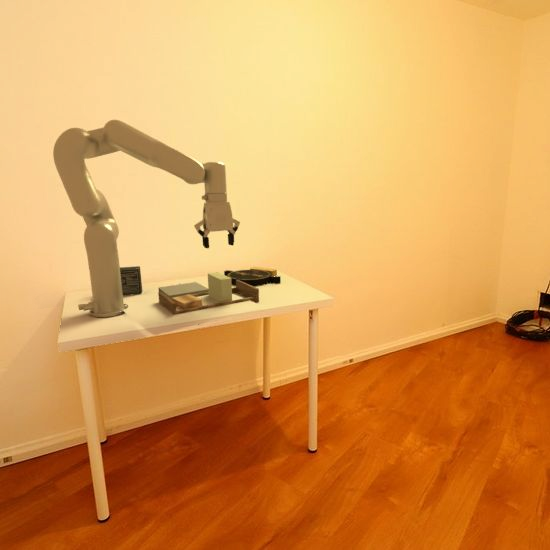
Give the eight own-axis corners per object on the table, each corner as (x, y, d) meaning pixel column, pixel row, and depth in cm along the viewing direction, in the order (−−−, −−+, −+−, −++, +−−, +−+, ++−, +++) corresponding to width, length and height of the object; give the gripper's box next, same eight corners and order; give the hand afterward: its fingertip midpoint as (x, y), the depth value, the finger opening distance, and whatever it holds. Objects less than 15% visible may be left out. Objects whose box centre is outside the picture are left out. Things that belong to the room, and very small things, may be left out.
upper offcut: (184, 309, 131) (183, 303, 131) (172, 303, 138) (171, 297, 137) (202, 304, 136) (201, 299, 135) (189, 299, 142) (189, 294, 142)
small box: (142, 290, 161) (140, 265, 158) (141, 294, 154) (139, 268, 152) (115, 291, 158) (113, 267, 156) (113, 296, 152) (110, 270, 150)
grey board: (169, 302, 144) (169, 295, 143) (158, 293, 155) (158, 287, 154) (209, 295, 152) (209, 289, 151) (196, 287, 163) (195, 281, 163)
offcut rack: (174, 318, 126) (173, 303, 125) (159, 305, 140) (158, 292, 139) (258, 301, 143) (258, 288, 142) (238, 291, 157) (238, 279, 156)
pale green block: (222, 306, 138) (221, 279, 136) (208, 298, 148) (207, 273, 145) (232, 304, 140) (231, 278, 138) (218, 297, 150) (217, 272, 148)
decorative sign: (292, 270, 180) (266, 283, 159) (292, 277, 181) (267, 290, 160) (240, 265, 194) (210, 275, 172) (240, 271, 194) (210, 282, 173)
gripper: (197, 199, 128) (200, 250, 132) (242, 197, 137) (244, 245, 141) (188, 199, 134) (192, 247, 138) (233, 197, 143) (235, 242, 147)
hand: (219, 246), depth 139 cm, fingers open, 9 cm apart
